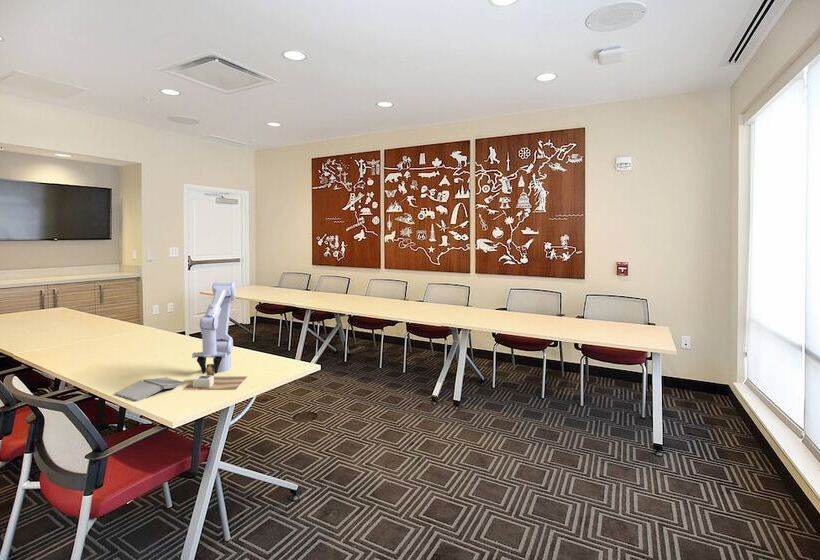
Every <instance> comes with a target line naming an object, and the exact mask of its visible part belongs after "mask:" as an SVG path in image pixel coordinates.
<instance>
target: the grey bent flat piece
mask: <svg viewBox="0 0 820 560" xmlns="http://www.w3.org/2000/svg"><path fill="white" fill-rule="evenodd" d="M184 384H186V383H185V382H183V381H181V380H177V379H174V378H171V377H167V376H166V377H158V378H156V377H155V378H147V379H143V380H139V381H137V382H135V383H132V384H130V385H128V386H126V387H124V388H123V389H120V390H118V391H116V392H114V394H115V395H116V396H118V397H122V398H125V399H127V400H131V401H133V402H140V401H143V400H145V399H147V398H149V397H151V396H152V395H155V394H156V393H158V392H160V391H162V390H166V389H167V390H168V389H174V388H175V389H176V388H177V387H179V386H182V385H184Z"/></svg>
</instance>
